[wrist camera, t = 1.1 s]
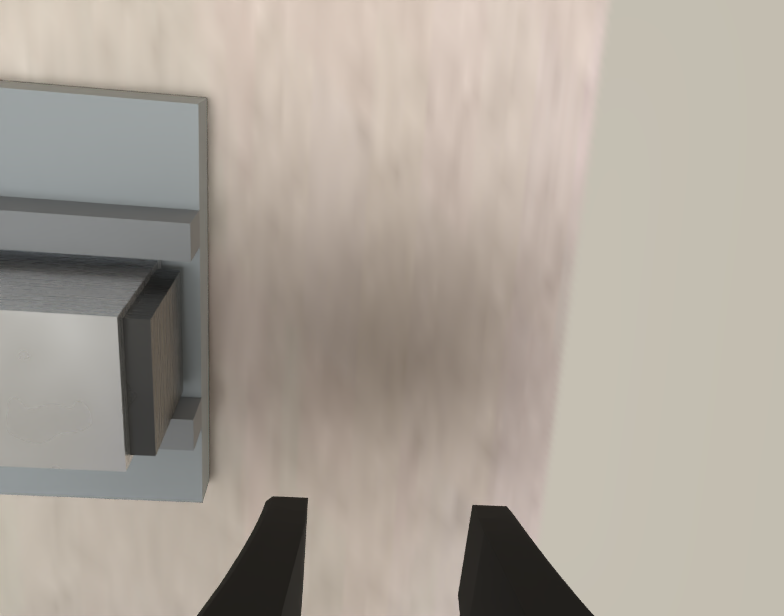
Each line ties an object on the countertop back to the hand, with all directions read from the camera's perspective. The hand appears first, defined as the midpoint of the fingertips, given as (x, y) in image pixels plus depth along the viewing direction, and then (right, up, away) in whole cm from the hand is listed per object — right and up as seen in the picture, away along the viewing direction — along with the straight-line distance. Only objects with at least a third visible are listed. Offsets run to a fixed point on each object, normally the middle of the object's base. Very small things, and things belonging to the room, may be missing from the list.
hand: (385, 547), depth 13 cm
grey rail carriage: (-9, +4, +7) cm, 12 cm away
